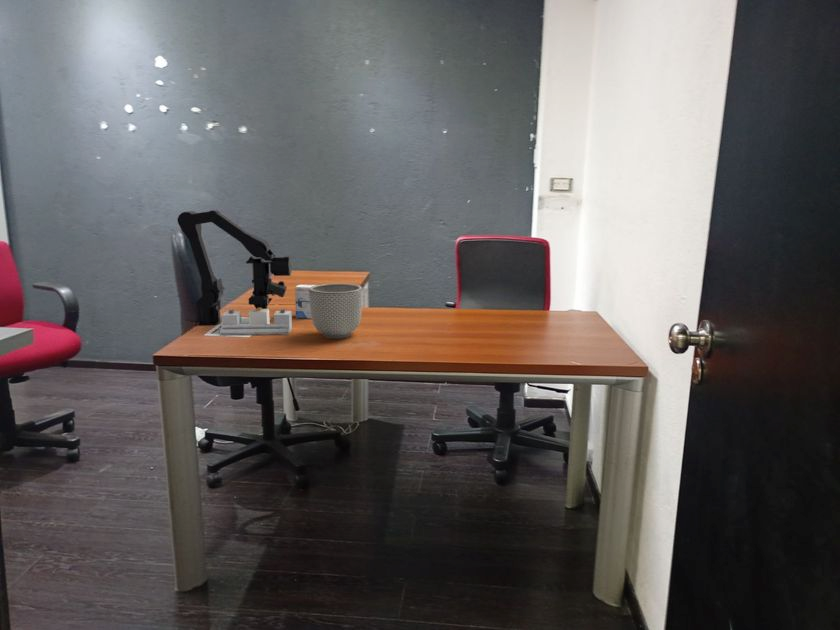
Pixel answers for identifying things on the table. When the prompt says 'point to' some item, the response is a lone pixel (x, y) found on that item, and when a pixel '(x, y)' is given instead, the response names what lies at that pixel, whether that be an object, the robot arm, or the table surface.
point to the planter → (336, 308)
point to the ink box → (302, 301)
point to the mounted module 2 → (283, 317)
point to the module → (259, 316)
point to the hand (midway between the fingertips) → (263, 319)
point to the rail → (255, 329)
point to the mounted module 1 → (231, 317)
